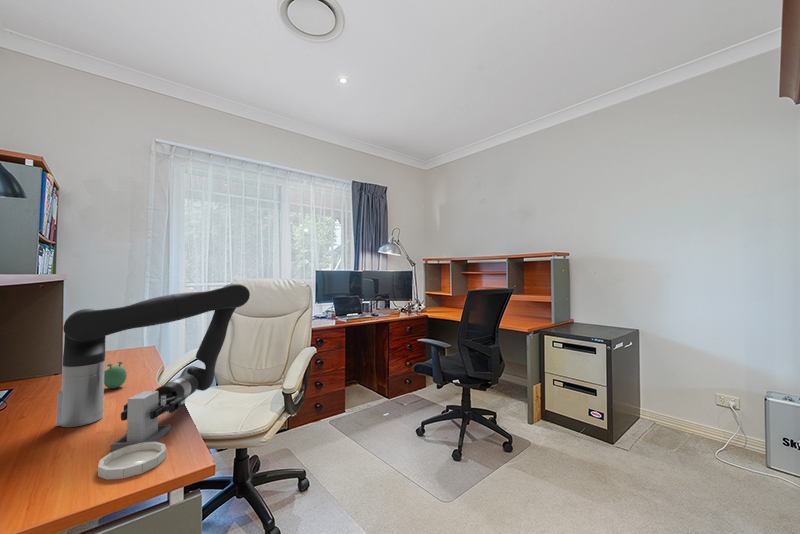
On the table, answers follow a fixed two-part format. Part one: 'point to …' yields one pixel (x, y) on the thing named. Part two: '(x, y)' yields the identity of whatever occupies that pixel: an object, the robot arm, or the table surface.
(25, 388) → the table surface
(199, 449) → the table surface
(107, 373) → the alien toy
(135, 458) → the bowl
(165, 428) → the tray
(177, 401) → the robot arm
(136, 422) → the skincare box
